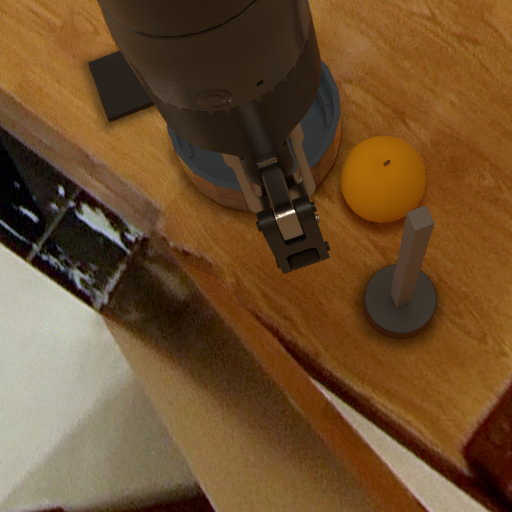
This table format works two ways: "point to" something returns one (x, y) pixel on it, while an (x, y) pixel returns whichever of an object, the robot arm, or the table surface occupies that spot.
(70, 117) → the table surface
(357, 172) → the orange
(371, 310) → the square post on disc
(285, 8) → the robot arm
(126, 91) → the pad
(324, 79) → the bowl
